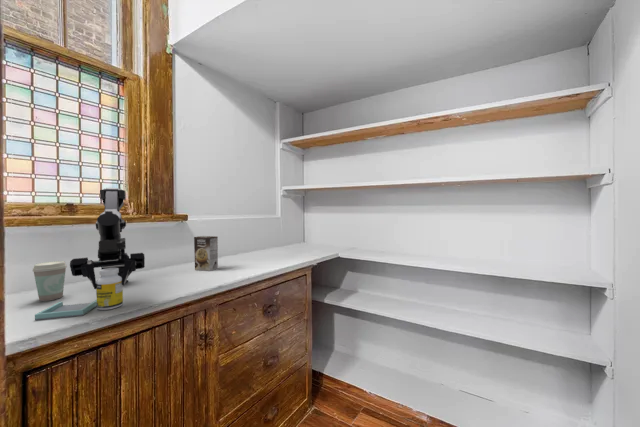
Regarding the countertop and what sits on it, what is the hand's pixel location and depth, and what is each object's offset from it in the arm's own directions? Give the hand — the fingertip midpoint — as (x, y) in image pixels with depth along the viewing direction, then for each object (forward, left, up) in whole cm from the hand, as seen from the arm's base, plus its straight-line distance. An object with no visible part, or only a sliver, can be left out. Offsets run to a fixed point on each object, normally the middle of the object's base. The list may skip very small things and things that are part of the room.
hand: (109, 286), depth 85 cm
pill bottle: (-1, +1, -7) cm, 7 cm away
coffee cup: (-29, +6, -7) cm, 31 cm away
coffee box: (0, +53, -7) cm, 54 cm away
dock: (-10, -3, -7) cm, 12 cm away
